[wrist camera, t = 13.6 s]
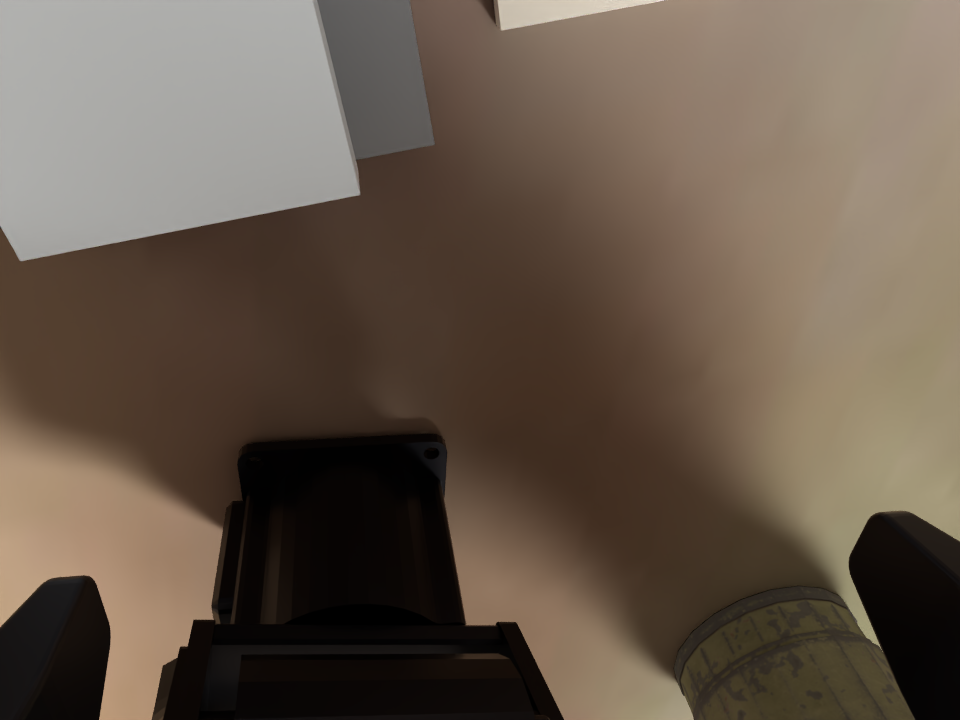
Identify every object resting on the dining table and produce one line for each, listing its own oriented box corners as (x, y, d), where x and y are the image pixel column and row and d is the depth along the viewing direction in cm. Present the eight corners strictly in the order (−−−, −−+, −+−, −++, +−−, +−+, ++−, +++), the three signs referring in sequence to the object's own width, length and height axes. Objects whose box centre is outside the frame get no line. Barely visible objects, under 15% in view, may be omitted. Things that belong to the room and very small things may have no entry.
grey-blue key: (358, 169, 16) (360, 195, 14) (43, 229, 15) (20, 261, 14) (262, -224, 12) (255, -231, 11) (-160, -155, 11) (-215, -154, 10)
